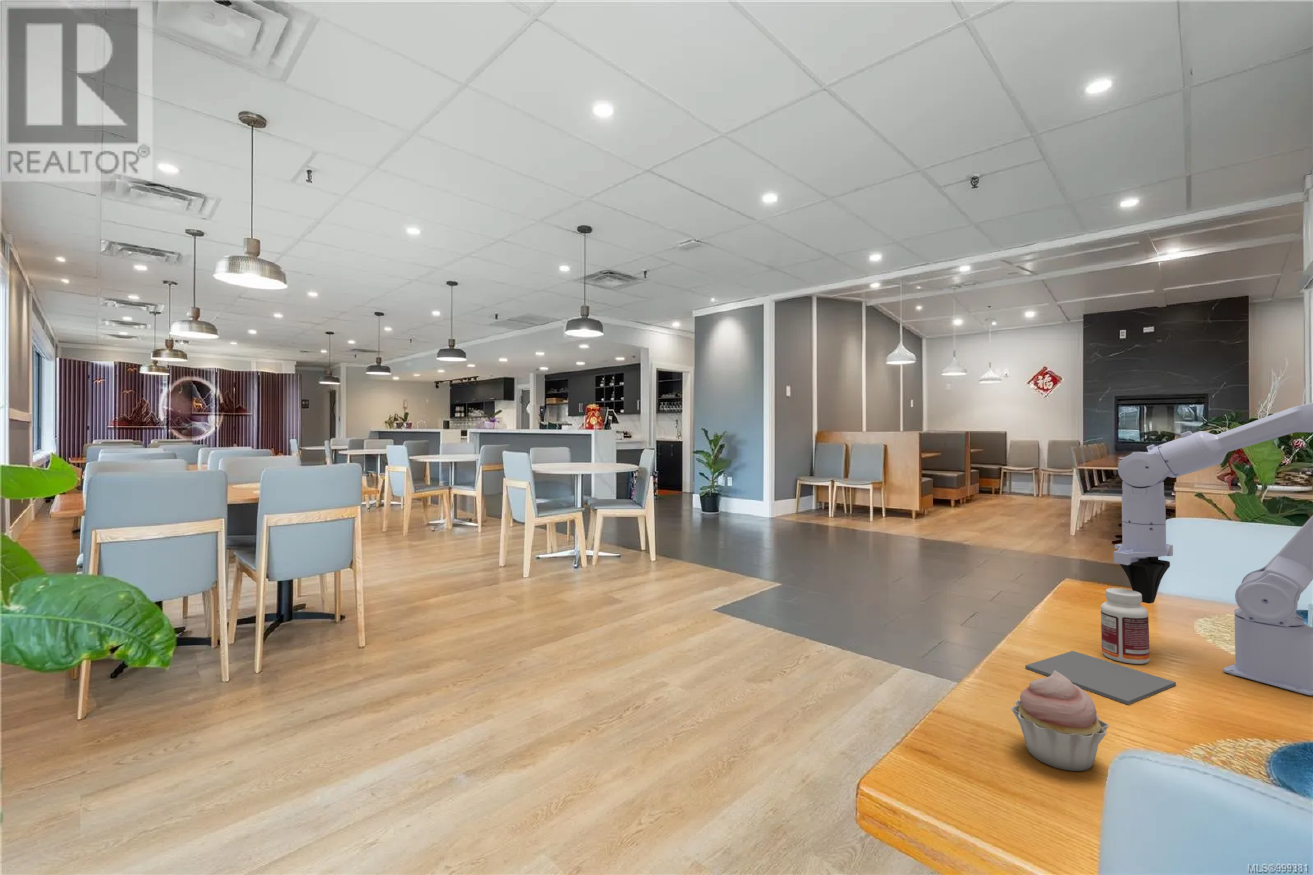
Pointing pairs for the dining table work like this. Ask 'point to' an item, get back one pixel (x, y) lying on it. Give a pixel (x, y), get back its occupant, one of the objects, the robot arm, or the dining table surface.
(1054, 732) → the cupcake
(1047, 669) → the mat
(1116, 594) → the pill bottle
